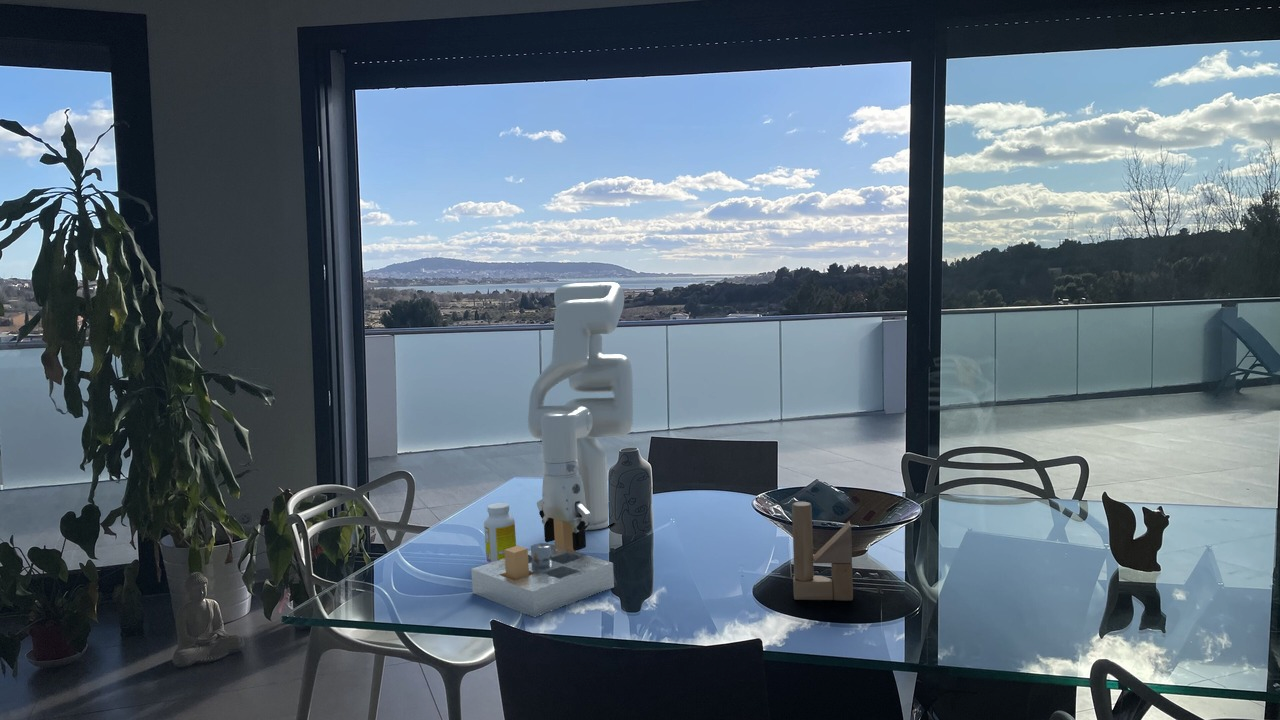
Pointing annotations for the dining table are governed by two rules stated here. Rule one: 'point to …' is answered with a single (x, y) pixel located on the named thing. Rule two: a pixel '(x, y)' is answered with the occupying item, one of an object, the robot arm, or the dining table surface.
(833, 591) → the wooden block structure
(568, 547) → the tan square prism
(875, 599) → the dining table surface
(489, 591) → the grey peg hole board
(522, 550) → the tall tan wooden post
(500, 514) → the supplement bottle
